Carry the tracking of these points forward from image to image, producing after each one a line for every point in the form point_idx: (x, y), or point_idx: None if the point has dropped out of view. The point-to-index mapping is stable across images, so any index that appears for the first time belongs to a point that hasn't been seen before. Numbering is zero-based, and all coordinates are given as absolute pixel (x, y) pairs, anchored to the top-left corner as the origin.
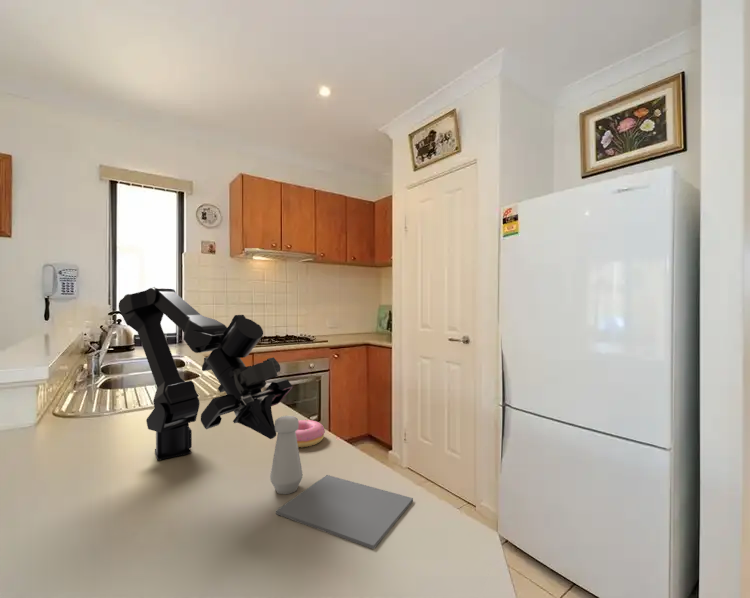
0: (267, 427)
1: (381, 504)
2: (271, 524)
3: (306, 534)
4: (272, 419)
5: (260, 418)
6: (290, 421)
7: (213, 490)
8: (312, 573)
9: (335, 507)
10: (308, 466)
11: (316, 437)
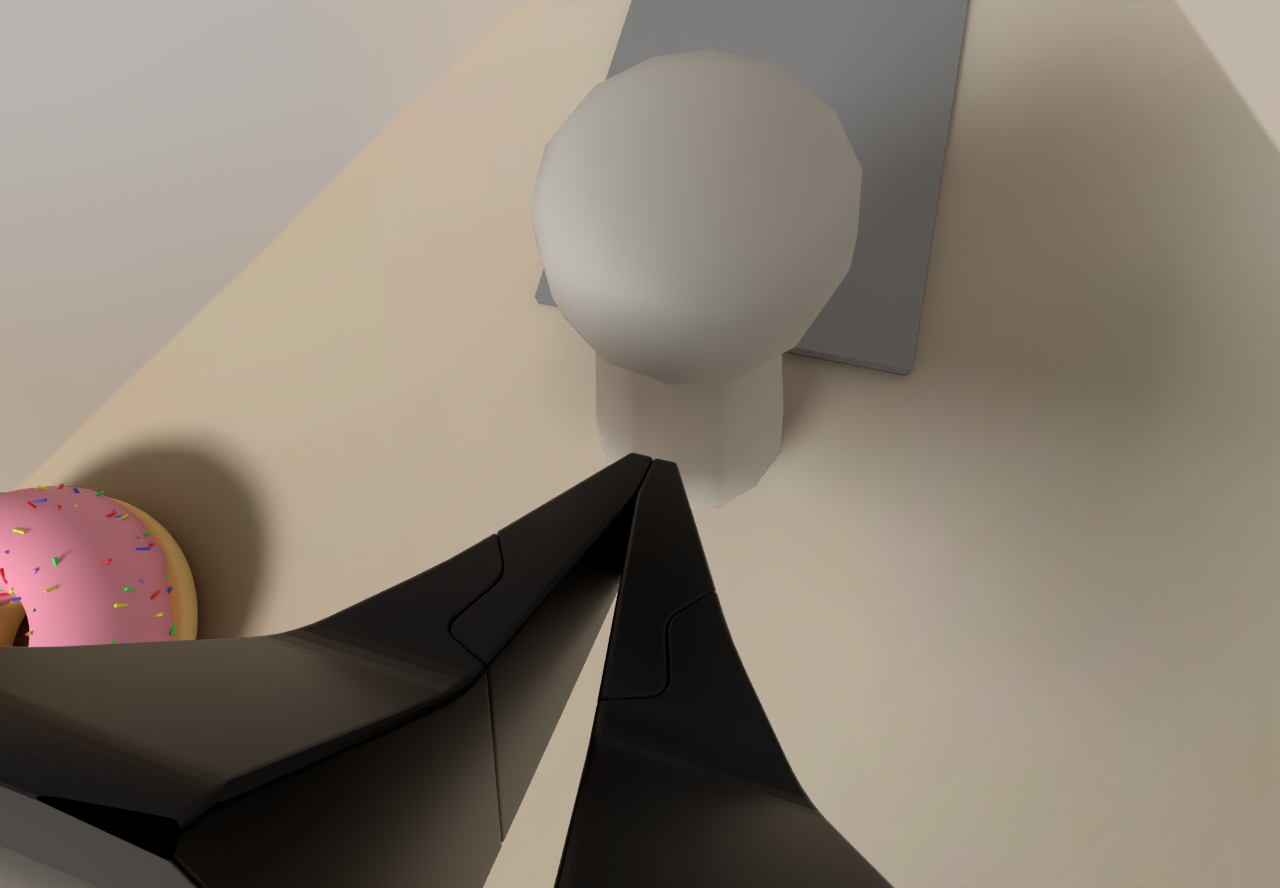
0: (689, 520)
1: (724, 22)
2: (980, 353)
3: (982, 201)
4: (532, 520)
5: (724, 632)
6: (782, 72)
7: None
8: (1156, 101)
9: None
10: (438, 439)
11: (114, 504)
